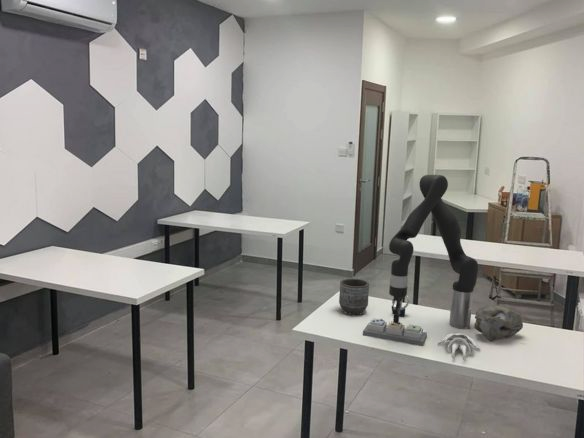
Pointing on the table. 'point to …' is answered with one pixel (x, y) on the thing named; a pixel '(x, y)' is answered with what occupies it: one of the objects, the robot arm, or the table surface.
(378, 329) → the keypad
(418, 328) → the button one
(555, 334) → the table surface
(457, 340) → the figurine
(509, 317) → the fossil
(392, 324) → the button two
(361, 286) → the planter
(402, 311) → the watch
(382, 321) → the button three
